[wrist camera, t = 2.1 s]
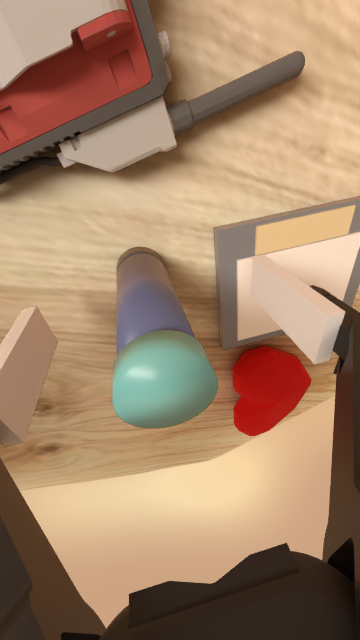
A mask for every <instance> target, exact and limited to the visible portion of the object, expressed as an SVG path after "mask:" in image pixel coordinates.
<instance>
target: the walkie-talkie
mask: <svg viewBox="0 0 360 640" xmlns="http://www.w3.org/2000/svg"><path fill="white" fill-rule="evenodd" d="M170 55H171V49H170V43H169V39H168V36H167V33H166V31H161V32H160V33H157V31H156V29H155V25H154V22H153V18H152V14H151V11H150V7H149V3H148V0H0V184H2V183H4V182H6V181H9V180H11V179H13V178H15V177H17V176H19V175H21V174H23V173H26V172H28V171H30V170H33V169H35V168H37V167H40V166H42V165H47V166H59V165H63V167H64V168H65V167H69V166H71V165H73V164H75V163H77V162H79V163H82V164H85V165H89V166H92V167H95V168H98V169H101V170H105V171H108V172H111V173H114V172H116V171H118V170H120V169H123V168H125V167H127V166H129V165H131V164H134V163H136V162H138V161H140V160H142V159H145V158H147V157H149V156H151V155H153V154H156V153H158V152H161V153H165V152H168V151H170V150H172V149H174V148H176V147H177V143H176V139H175V137H176V136H179V135H181V134H183V133H185V132H187V131H189V130H191V129H192V128H193V125H195V124H197V123H199V122H201V121H203V120H206V119H208V118H210V117H212V116H214V115H216V114H219V113H221V112H223V111H225V110H227V109H229V108H231V107H234V106H236V105H238V104H240V103H242V102H244V101H247V100H249V99H251V98H253V97H255V96H257V95H259V94H262V93H264V92H266V91H268V90H270V89H272V88H274V87H277V86H279V85H281V84H283V83H285V82H287V81H290V80H292V79H294V78H296V77H298V76H299V74H300V73H301V72H302V70H303V68H304V65H305V57H304V55H303V53H302V52H300V51H295V52H293V53H291V54H289V55H287V56H285V57H283V58H280V59H278V60H276V61H274V62H272V63H270V64H268V65H266V66H263V67H261V68H259V69H257V70H255V71H253V72H251V73H249V74H246V75H244V76H242V77H240V78H238V79H236V80H234V81H232V82H230V83H227V84H225V85H223V86H221V87H219V88H217V89H215V90H213V91H210V92H208V93H206V94H204V95H202V96H200V97H198V98H196V99H194V100H191V101H189V102H187V101H186V100H183V101H180V102H178V103H176V104H174V105H172V106H170V107H167V108H166V106H165V102H164V99H163V96H162V95H163V93H164V90H165V88H166V86H167V85H168V84H170V83H172V76H171V71H170V67H169V65H168V63H167V62H164V59H166V58H168V57H170ZM54 148H60V149H61V151H62V152H60V153H58V154H56V155H57V157H55V158H50V157H38V158H36V157H37V156H44V155H45V152H53V151H54Z"/></svg>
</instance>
